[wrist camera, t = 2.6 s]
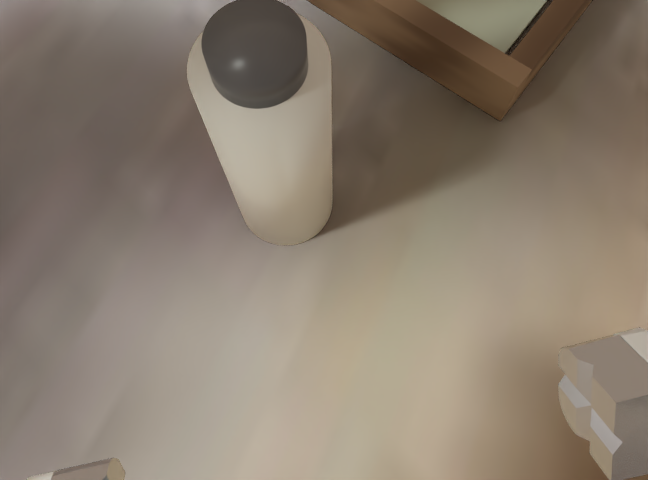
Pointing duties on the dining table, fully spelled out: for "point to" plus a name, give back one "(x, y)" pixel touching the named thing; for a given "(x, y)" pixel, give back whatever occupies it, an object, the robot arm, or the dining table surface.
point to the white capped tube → (268, 115)
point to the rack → (465, 40)
